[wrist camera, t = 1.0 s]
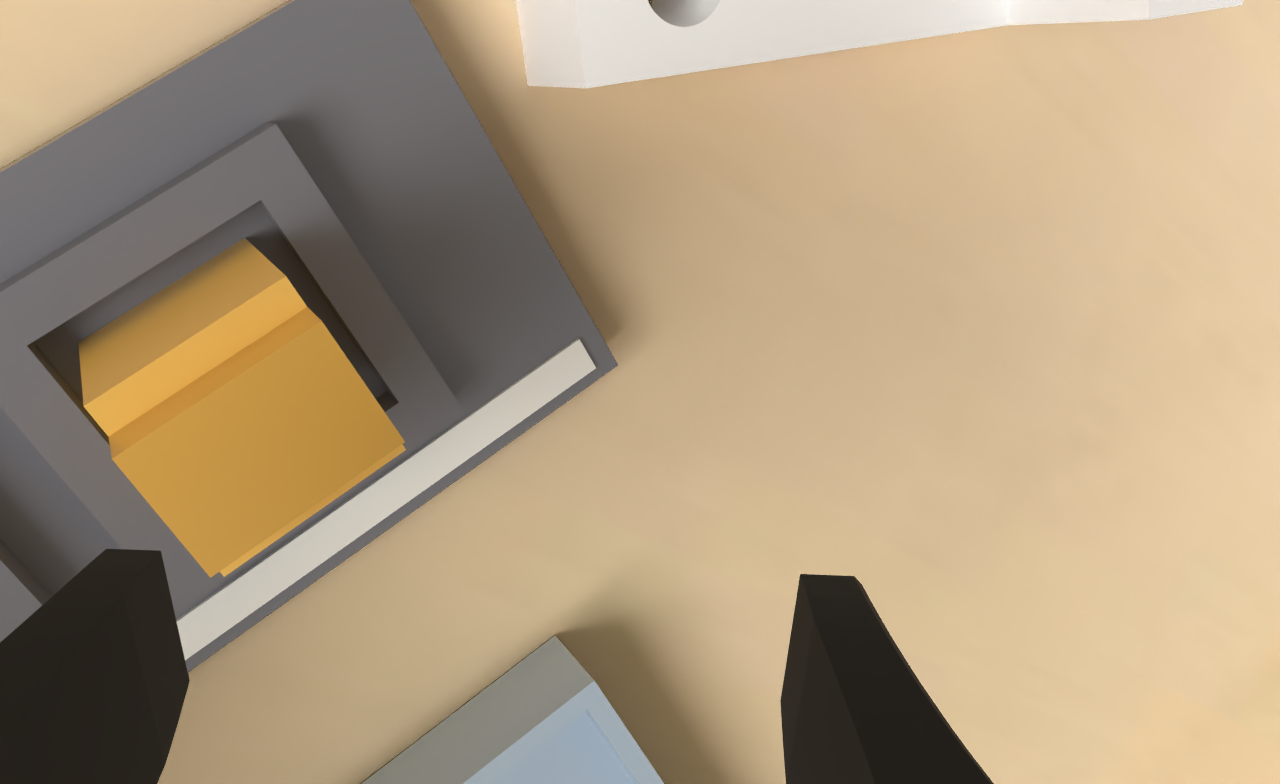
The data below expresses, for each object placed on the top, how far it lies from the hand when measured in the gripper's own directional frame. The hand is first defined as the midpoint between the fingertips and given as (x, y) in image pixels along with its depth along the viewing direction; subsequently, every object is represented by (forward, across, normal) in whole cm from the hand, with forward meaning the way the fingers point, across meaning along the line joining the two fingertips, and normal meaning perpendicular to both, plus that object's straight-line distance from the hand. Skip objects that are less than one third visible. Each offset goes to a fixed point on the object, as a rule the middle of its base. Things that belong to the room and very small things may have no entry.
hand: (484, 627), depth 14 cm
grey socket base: (+11, +7, +3) cm, 14 cm away
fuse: (+10, +6, +3) cm, 12 cm away
